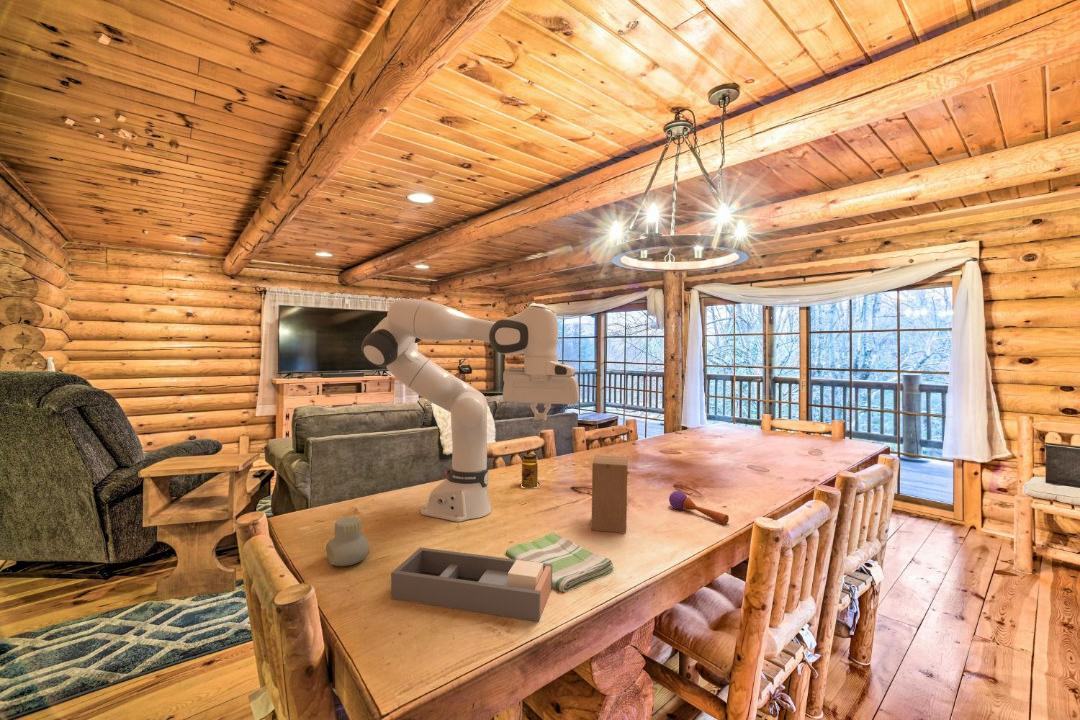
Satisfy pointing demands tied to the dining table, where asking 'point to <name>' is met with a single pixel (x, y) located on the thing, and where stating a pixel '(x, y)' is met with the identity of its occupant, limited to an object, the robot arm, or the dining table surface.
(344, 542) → the air freshener
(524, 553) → the dish towel
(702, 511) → the purple and brown maraca
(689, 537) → the dining table surface
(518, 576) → the cream block
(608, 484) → the wooden block
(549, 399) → the robot arm
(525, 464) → the condiment
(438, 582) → the box
